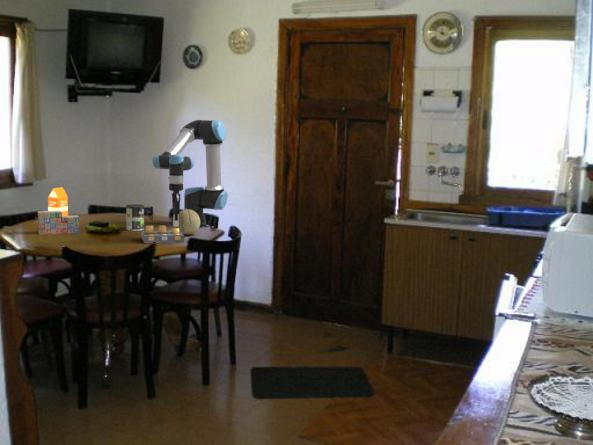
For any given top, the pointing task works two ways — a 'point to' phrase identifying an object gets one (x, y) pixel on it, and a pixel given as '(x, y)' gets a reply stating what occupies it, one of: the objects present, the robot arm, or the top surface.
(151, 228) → the button
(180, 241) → the button board
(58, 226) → the stack of blocks
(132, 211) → the coffee can
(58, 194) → the orange juice
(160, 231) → the button mid
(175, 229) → the button
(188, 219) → the cantaloupe
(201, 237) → the top surface
